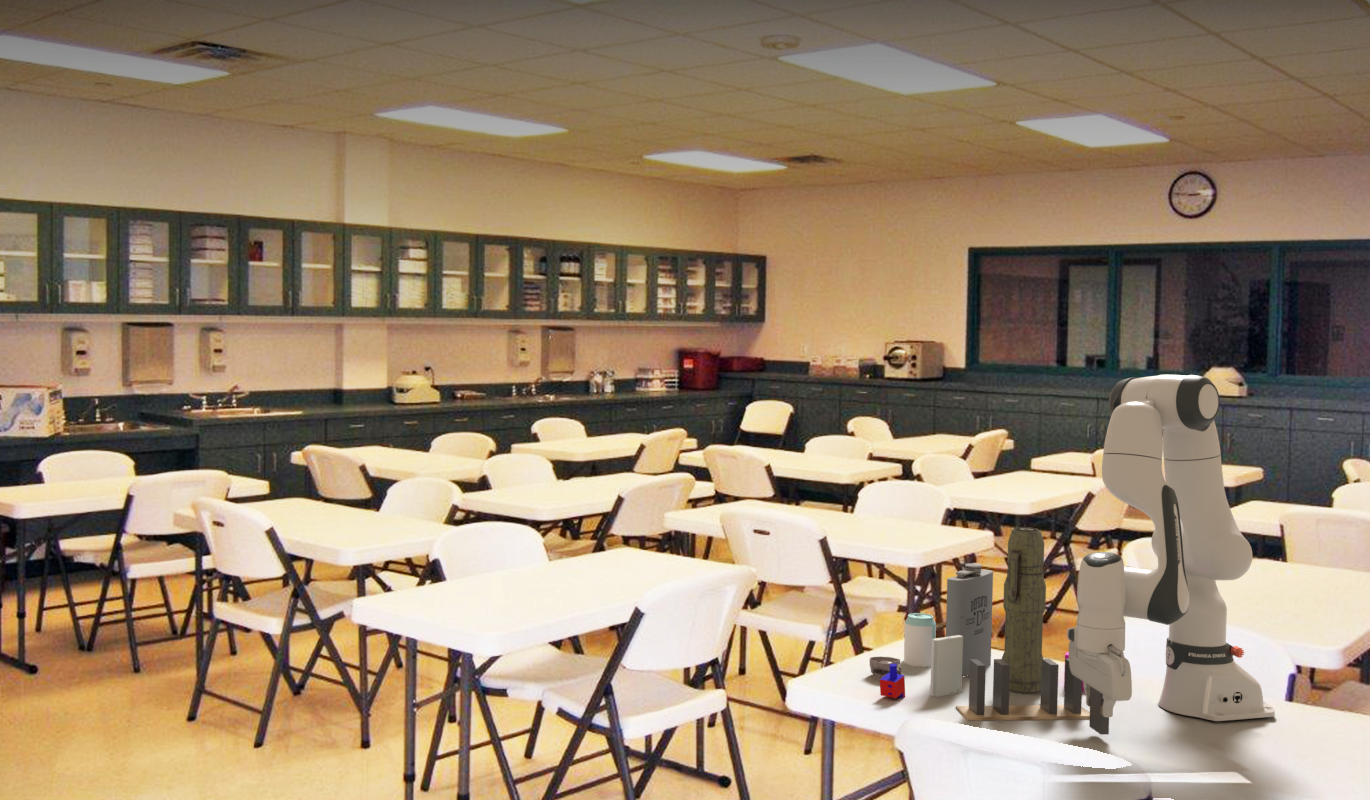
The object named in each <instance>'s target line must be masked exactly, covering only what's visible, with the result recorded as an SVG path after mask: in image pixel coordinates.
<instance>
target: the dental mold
mask: <svg viewBox="0 0 1370 800" xmlns="http://www.w3.org/2000/svg"><path fill="white" fill-rule="evenodd" d="M890 664H896V665H897V674H899V675H903V672H902V665H900V664H901V659H899V658H895V657H890V656H871V657H869V667H870V672H871V675H872V678H874V679H876V681H879V682H880V679H881V678H882V677H884V676H885V675H886V674H888V673H890V667H889V665H890Z"/></svg>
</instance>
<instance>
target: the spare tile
mask: <svg viewBox="0 0 1370 800" xmlns="http://www.w3.org/2000/svg"><path fill="white" fill-rule="evenodd" d="M1103 702H1104V699H1103V694H1102V693H1100V692H1099V691H1097V690H1096V689H1094V688H1093V687H1091V686H1090V707H1089V712H1090V719H1089V727H1090V728H1091V729H1092V730H1094V731H1095V732H1097V733H1098V734H1100V735H1109V734H1110V717H1104V716H1103V715H1101V713H1100V712H1101V706H1103Z"/></svg>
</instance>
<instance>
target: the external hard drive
mask: <svg viewBox="0 0 1370 800" xmlns="http://www.w3.org/2000/svg"><path fill="white" fill-rule="evenodd" d="M962 661H963V636H961V635H955V636H949V637H946V636H944V637H936V639H932V653H931V666H930V685H929V686H930V691H929V695H930V696H931V697H933V698H936V697H938V698H939V697H942V696H949V695H953V694H958V693H959V692H960V693H962V690H963V688H962V687H963V686H962V685H963V677H962Z"/></svg>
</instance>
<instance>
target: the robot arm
mask: <svg viewBox="0 0 1370 800" xmlns="http://www.w3.org/2000/svg"><path fill="white" fill-rule="evenodd" d="M1220 401H1221V400H1220V395H1219V391H1218V389H1217V387H1216V386H1215V384H1214V383H1213V382H1212V381H1211V379H1209V378H1208V377H1206V376H1202V375H1195V374H1189V375H1183V374H1182V375H1181V374H1159V375H1151V376H1149V375H1148V376H1143V377H1135V376H1133V377H1129V378H1125V379H1121V380H1119V381H1118V382H1116V384H1115V385H1114V387H1112V389H1111V392H1110V394H1109V399H1108V408H1109V409H1108V410H1109V413H1110V419H1109V423H1108V426H1107V428H1106V429H1107V431H1106V435H1105V439H1104V444H1103V451H1102V461H1101V463H1102V464H1101V477H1102V482H1103V484H1104V486H1105V488H1106V489H1107V491H1108V492H1109V493H1110V494H1111V495H1112V496H1114V498H1116V499H1118V500H1120V501H1121V502H1123V503H1125V504H1127V505H1128V506H1131V507H1133V508H1135V509H1137V510H1139V511H1140V512H1143V513H1144V514H1145V515H1147V517H1149V518H1150V520H1151V521H1152V523H1153V525H1154V528H1155V529H1154V530H1153V532H1152V536H1151V547H1152V551H1153V553H1154V555H1155V556H1156V557H1157V558H1156V559H1157V562H1158V563H1157V564H1158V565H1157V568H1156V569H1151V568H1144V567H1143V568H1142V567H1133V566H1128V565H1125V564H1124V560H1123V557H1122V556H1121V555H1119V554H1117V553H1114V552H1110V551H1109V552H1107V551H1098V552H1092V553H1088V554H1086V555H1085V556H1083V557H1082V559H1081V562H1080V565H1079V569H1078V577H1077V586H1076V589H1077V590H1076V594H1077V595H1076V601H1077V605H1078V615H1077V617H1076V626H1073V627H1069V628H1067V631H1066V638H1067V639H1068V641H1069V643H1068V652H1069V667H1070V671H1071V673H1072V675H1074V676H1075V677H1077V678H1078V679H1080V680H1082V681H1083V687H1084V690H1083V691H1084V694H1085V704H1086V706H1088V708H1090V686H1091V687H1093V688H1094V689H1096V690H1097V691H1099V692H1100V693H1102V694H1103V699H1104V702H1103V706H1101V712H1100V713H1101V715H1103V716H1104V717H1109V718H1112V717H1113V716H1114V706H1115V705H1116V702H1121V701H1123V702H1124V701H1130V700H1131V698H1132V695H1133V687H1132V686H1133V684H1132V682H1133V681H1132V669H1131V664H1130V661H1129V660H1128V659H1127V658H1126V657H1125V655H1124V651H1125V650H1126V621H1125V618H1126V617H1127V618H1134V619H1141V620H1146V621H1147V620H1148V621H1150V622H1154V623H1157V624H1158V623H1159V624H1162V625H1166V626H1167V625H1168V626H1169V627H1168V637H1166V645H1165V648H1166V649H1165V665H1166V668H1165V669H1166V671H1165V675H1164V676H1165V677H1164V682H1163V688H1162V690H1161V693H1160V697H1159V699H1158V702H1157V704H1158V706H1159V707H1160V708H1161V709H1163V710H1165V711H1168V712H1171V713H1174V714H1179V715H1182V716H1188V717H1194V718H1200V719H1204V720H1208V721H1212V722H1222V721H1223V722H1224V721H1236V720H1237V721H1238V720H1248V719H1259V718H1262V719H1263V718H1271V717H1275V716H1276V713H1275V708H1273V707H1272V706H1271V705H1270V704H1268V703H1266V702H1264V696H1263V695H1264V694H1263V691H1262V690H1263V689H1262V687H1261V683H1259V681H1258V680H1257V679H1256V678H1255V677H1254V676H1252V675H1251V674H1250V673H1249V672H1248V671H1246V670H1245V669H1244V668H1243V667H1242V666H1240V665H1239V664H1238V663H1236V661H1235V660H1234V656H1235V657H1237V658H1239V659H1240V658H1243V656H1244V655H1245V650H1244V649H1243V648H1241V647H1239V646H1237V645H1235V646H1233V645H1231V644H1230V643H1228V642H1227V622H1228V621H1227V619H1228V617H1227V614H1228V609H1227V608H1228V607H1227V604H1226V601H1225V600H1224V598H1223V597H1222V596H1221V593H1220V591H1219V588H1218V585H1217V582H1216V581H1234V580H1237V579H1240V578H1241V577H1243V576H1244V575H1246V573H1247V572H1248V571H1249V569H1250V568H1251V566H1252V562H1253V550H1252V546H1251V544H1250V542H1249V541H1248V540H1247V538H1246V537H1244V535H1243V534H1242V532H1241V531H1240V528H1239V526H1238V525H1237V523H1236V520H1235V518H1234V515H1233V513H1232V510H1231V507H1230V505H1229V502H1228V498H1227V495H1226V490H1225V485H1224V484H1225V483H1224V475H1223V466H1222V454H1221V445H1220V440H1219V433H1218V430H1217V426H1216V421H1215V419H1216V418H1217V415H1218V412H1219V410H1220ZM1162 464H1163V467H1164V474H1163V467H1162Z"/></svg>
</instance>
